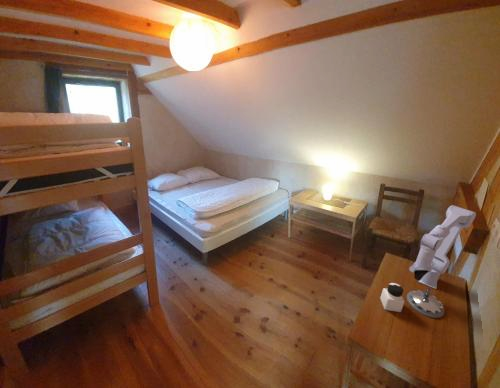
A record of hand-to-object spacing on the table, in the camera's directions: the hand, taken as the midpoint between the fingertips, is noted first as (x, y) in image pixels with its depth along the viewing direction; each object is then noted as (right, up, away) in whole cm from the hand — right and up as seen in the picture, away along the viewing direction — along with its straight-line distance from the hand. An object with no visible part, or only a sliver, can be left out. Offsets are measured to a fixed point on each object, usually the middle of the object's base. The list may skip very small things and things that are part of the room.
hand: (417, 279), depth 114 cm
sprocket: (+2, -10, -3) cm, 11 cm away
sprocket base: (+2, -11, -3) cm, 12 cm away
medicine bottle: (-15, -12, -3) cm, 20 cm away
